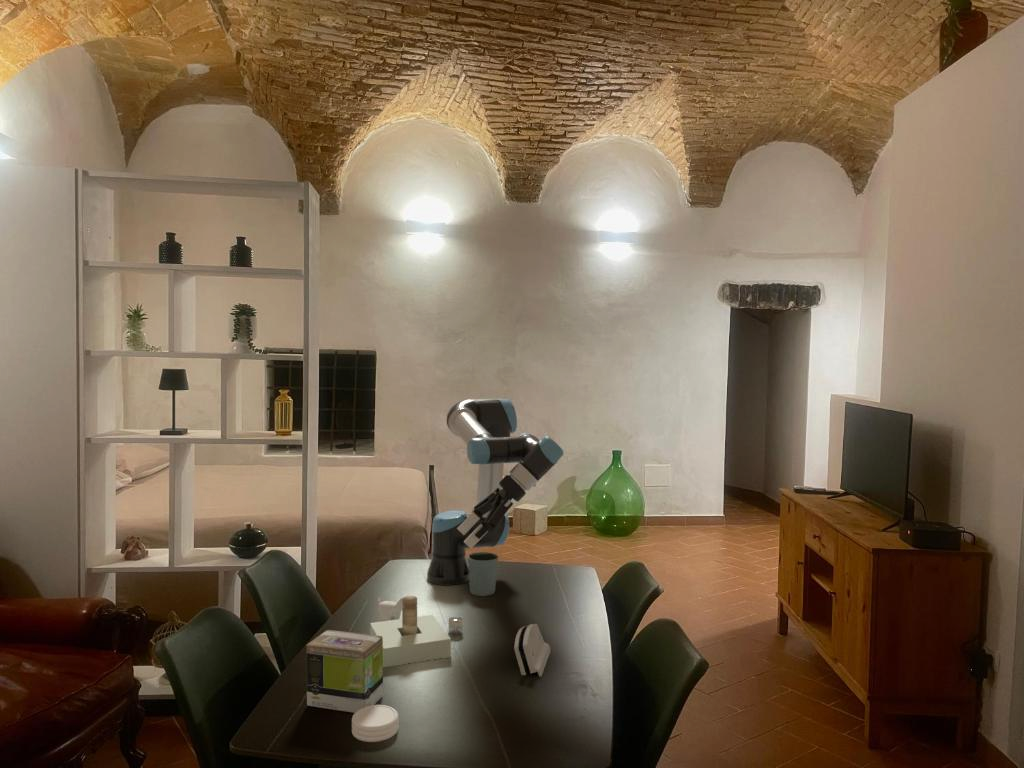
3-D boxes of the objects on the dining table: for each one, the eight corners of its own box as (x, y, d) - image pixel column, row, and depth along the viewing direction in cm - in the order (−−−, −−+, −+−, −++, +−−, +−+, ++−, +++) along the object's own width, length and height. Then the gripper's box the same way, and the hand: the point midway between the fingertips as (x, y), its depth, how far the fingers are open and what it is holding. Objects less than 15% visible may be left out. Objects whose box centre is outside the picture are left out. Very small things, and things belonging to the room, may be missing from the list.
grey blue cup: (463, 594, 244) (463, 558, 243) (473, 584, 254) (474, 550, 253) (492, 598, 241) (492, 562, 240) (501, 588, 251) (502, 553, 250)
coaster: (401, 718, 165) (401, 703, 165) (395, 743, 155) (395, 727, 155) (356, 719, 165) (356, 703, 165) (347, 743, 155) (347, 727, 155)
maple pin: (400, 646, 203) (400, 596, 202) (415, 644, 204) (415, 595, 203) (404, 652, 199) (404, 601, 198) (418, 650, 201) (418, 599, 200)
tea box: (384, 695, 175) (384, 635, 174) (364, 716, 166) (364, 652, 165) (327, 686, 179) (327, 627, 178) (305, 706, 170) (304, 644, 169)
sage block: (370, 640, 207) (370, 622, 206) (432, 631, 213) (432, 614, 213) (383, 667, 190) (383, 648, 190) (450, 657, 197) (450, 638, 196)
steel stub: (446, 631, 214) (446, 617, 214) (460, 629, 215) (460, 616, 215) (450, 636, 210) (450, 622, 210) (464, 634, 212) (464, 621, 211)
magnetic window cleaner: (541, 677, 186) (528, 639, 186) (523, 681, 187) (510, 644, 187) (551, 649, 202) (539, 615, 202) (535, 653, 203) (523, 619, 203)
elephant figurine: (370, 626, 217) (370, 602, 216) (383, 614, 226) (383, 591, 226) (394, 628, 215) (394, 604, 215) (407, 616, 224) (407, 593, 224)
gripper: (537, 502, 194) (480, 560, 192) (517, 483, 219) (466, 535, 217) (517, 482, 193) (460, 541, 191) (499, 465, 217) (448, 518, 215)
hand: (463, 538), depth 204 cm, fingers open, 13 cm apart
